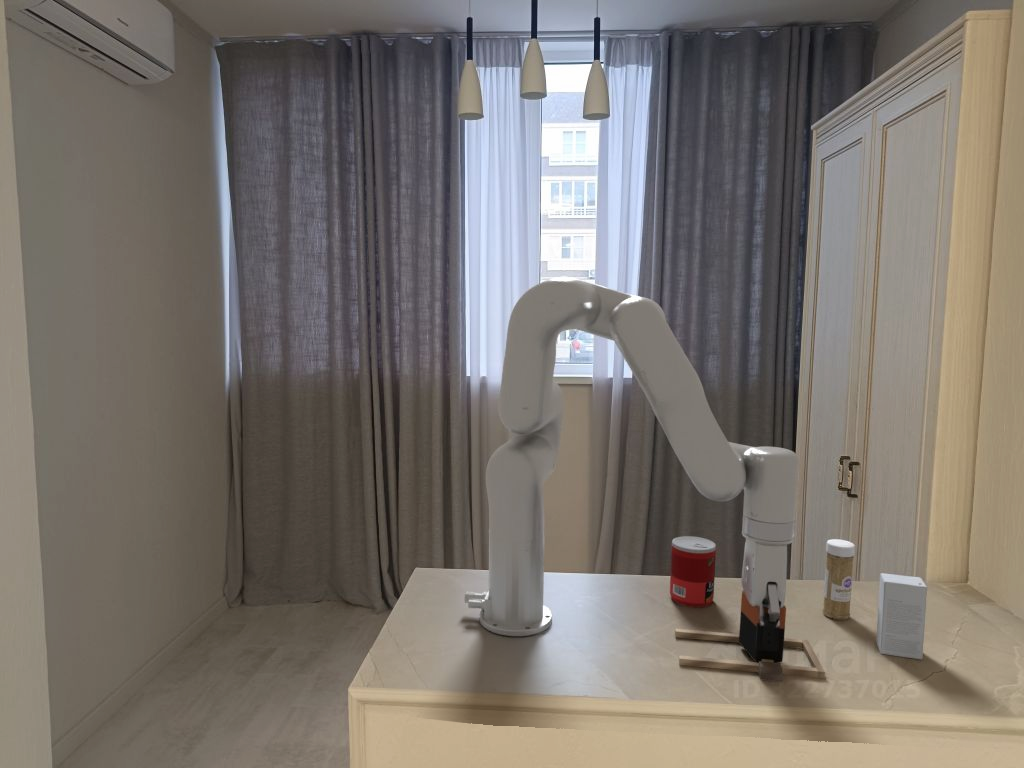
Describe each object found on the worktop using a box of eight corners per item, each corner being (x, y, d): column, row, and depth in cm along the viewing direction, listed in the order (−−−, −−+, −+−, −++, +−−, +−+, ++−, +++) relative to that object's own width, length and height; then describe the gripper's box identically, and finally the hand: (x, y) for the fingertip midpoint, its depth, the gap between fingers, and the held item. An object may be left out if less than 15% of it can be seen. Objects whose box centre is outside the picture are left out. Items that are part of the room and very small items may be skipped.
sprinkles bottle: (841, 623, 120) (846, 548, 118) (816, 613, 123) (821, 541, 122) (855, 616, 122) (860, 543, 121) (830, 607, 126) (835, 536, 125)
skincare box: (916, 648, 111) (922, 577, 110) (922, 660, 107) (928, 587, 106) (874, 641, 113) (879, 571, 112) (879, 654, 109) (884, 581, 108)
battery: (763, 642, 112) (767, 583, 110) (783, 663, 105) (788, 601, 104) (737, 642, 111) (741, 583, 110) (756, 664, 104) (760, 601, 103)
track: (680, 671, 103) (680, 659, 103) (674, 634, 115) (675, 622, 115) (828, 686, 100) (829, 673, 99) (807, 645, 112) (808, 634, 111)
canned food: (715, 610, 125) (717, 551, 123) (670, 605, 126) (672, 547, 125) (711, 593, 132) (714, 537, 131) (669, 589, 134) (671, 534, 132)
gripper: (734, 509, 115) (728, 611, 117) (752, 545, 98) (745, 662, 100) (781, 512, 114) (774, 615, 116) (808, 549, 97) (800, 668, 98)
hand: (761, 636), depth 108 cm, fingers closed on battery, 7 cm apart
